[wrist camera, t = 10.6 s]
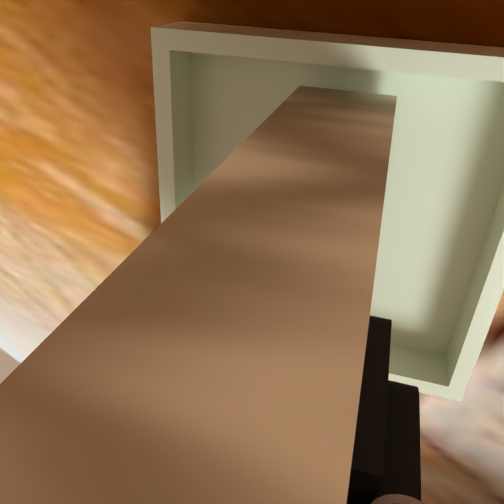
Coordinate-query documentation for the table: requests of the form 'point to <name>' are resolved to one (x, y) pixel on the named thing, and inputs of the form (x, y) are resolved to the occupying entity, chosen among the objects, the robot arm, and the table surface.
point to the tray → (399, 169)
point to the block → (220, 333)
